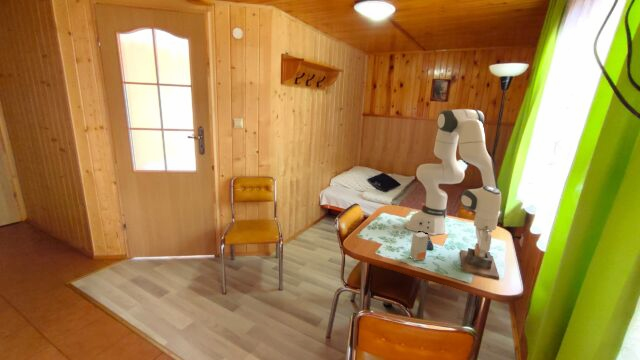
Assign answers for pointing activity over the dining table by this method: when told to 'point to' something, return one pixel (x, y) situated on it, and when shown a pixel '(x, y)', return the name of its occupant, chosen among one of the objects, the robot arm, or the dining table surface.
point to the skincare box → (419, 246)
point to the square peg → (477, 250)
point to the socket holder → (478, 264)
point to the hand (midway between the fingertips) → (480, 251)
